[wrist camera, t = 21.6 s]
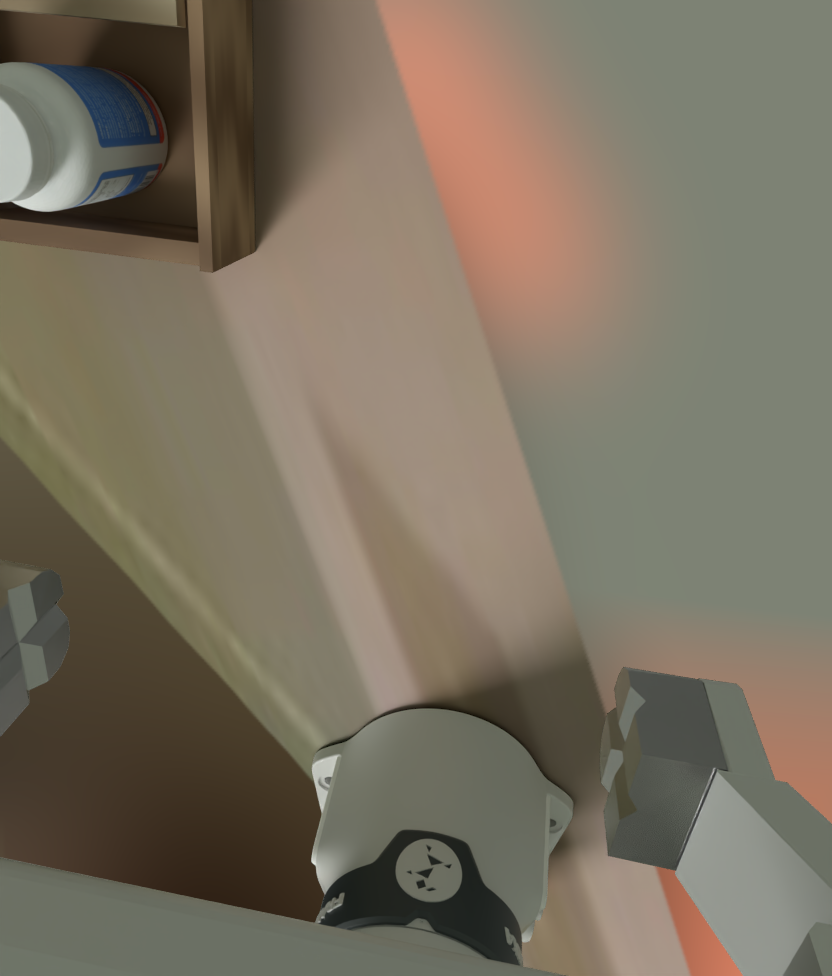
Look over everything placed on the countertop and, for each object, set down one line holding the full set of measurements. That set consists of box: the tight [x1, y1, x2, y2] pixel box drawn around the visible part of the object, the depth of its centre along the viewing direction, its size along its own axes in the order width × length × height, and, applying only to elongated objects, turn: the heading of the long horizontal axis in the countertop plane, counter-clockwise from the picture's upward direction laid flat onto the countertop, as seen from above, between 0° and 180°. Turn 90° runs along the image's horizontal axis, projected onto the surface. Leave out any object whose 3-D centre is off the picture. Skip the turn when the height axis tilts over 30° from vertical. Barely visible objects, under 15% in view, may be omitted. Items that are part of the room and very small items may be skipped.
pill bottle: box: [0, 62, 168, 212], centre depth 31 cm, size 6×5×10 cm
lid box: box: [0, 0, 255, 273], centre depth 32 cm, size 13×13×6 cm
